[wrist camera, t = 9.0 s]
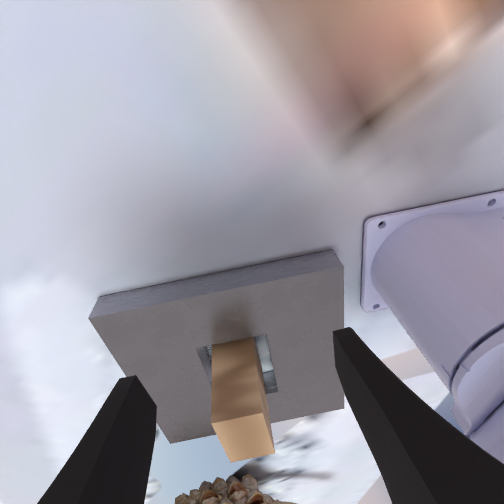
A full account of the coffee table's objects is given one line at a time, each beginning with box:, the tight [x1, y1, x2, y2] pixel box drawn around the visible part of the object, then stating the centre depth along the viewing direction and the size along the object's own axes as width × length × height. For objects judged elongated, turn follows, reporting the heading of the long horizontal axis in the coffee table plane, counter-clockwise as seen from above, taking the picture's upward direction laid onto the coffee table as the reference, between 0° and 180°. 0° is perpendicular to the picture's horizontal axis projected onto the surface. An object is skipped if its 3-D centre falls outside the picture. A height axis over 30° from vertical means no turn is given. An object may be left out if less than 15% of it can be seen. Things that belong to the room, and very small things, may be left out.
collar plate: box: [88, 250, 344, 444], centre depth 23 cm, size 16×16×2 cm
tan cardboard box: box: [211, 337, 275, 462], centre depth 21 cm, size 3×5×7 cm, turn 10°
